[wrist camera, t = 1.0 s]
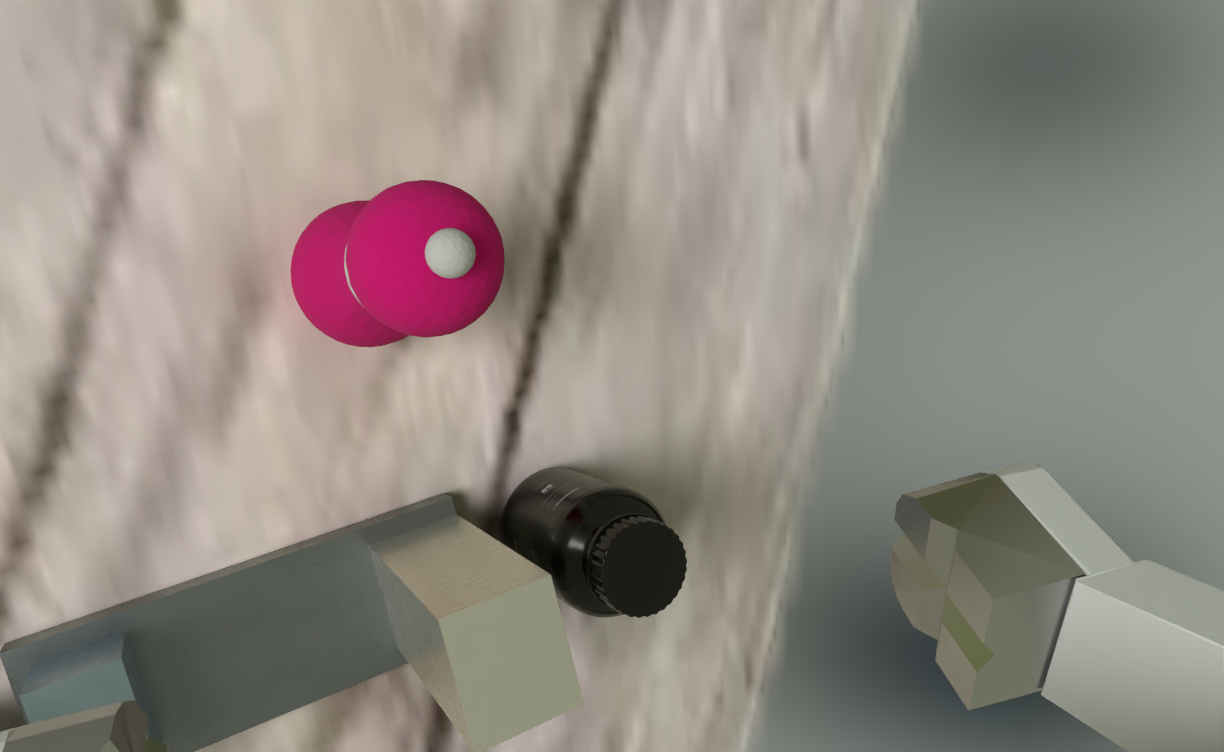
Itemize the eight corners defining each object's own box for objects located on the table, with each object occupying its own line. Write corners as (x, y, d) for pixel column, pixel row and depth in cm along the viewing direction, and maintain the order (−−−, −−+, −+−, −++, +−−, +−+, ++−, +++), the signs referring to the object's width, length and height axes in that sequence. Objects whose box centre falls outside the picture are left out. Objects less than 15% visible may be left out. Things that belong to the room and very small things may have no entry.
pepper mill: (418, 345, 52) (554, 355, 34) (281, 345, 49) (351, 357, 31) (417, 214, 51) (554, 154, 34) (279, 206, 48) (349, 135, 30)
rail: (58, 794, 45) (12, 1002, 31) (4, 643, 44) (-69, 791, 30) (479, 622, 54) (589, 724, 40) (444, 492, 53) (545, 552, 39)
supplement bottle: (581, 447, 57) (680, 476, 46) (618, 547, 58) (722, 597, 47) (481, 495, 54) (560, 538, 43) (521, 599, 55) (608, 665, 45)
